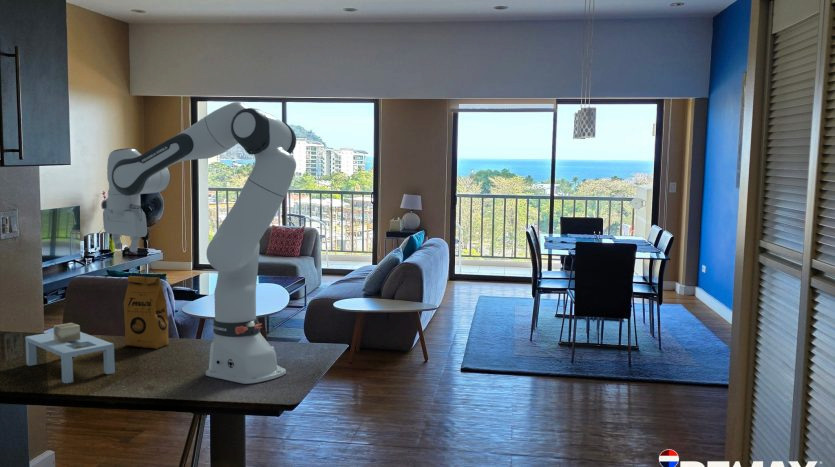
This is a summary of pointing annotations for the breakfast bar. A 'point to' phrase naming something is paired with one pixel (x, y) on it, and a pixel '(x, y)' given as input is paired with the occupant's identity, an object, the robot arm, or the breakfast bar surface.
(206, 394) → the breakfast bar surface
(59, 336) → the peg
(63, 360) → the keyhole stand
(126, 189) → the robot arm
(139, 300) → the coffee package
